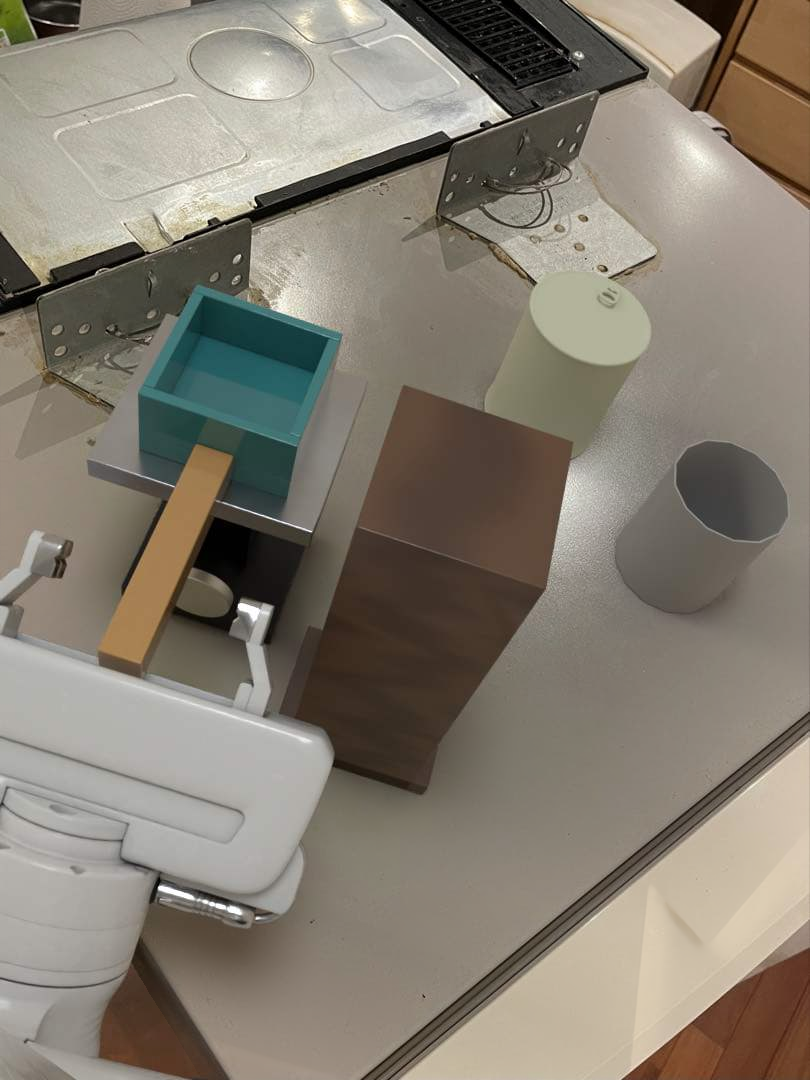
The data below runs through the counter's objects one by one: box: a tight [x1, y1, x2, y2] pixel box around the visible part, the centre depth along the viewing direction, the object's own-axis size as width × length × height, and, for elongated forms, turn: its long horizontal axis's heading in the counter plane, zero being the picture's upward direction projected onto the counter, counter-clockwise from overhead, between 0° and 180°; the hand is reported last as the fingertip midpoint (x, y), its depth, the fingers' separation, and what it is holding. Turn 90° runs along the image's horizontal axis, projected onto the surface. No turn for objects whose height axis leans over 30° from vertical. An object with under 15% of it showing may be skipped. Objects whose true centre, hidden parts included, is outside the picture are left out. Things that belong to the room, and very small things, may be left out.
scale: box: [86, 313, 369, 645], centre depth 60 cm, size 12×11×16 cm
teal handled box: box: [96, 284, 344, 679], centre depth 48 cm, size 8×20×4 cm, turn 166°
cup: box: [615, 438, 791, 614], centre depth 70 cm, size 8×8×10 cm
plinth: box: [278, 384, 573, 795], centre depth 52 cm, size 10×8×26 cm
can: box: [483, 269, 652, 460], centre depth 75 cm, size 9×9×12 cm
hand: (157, 568), depth 44 cm, fingers open, 8 cm apart
